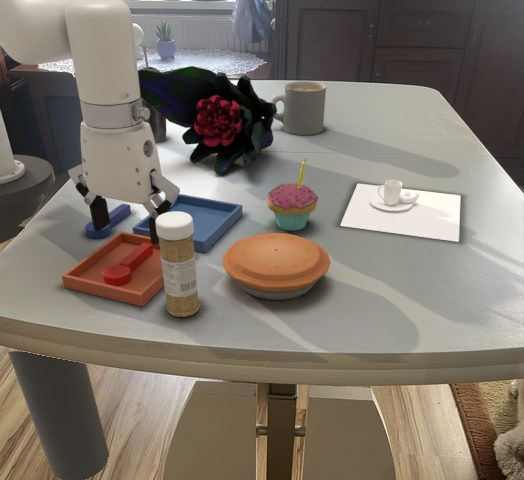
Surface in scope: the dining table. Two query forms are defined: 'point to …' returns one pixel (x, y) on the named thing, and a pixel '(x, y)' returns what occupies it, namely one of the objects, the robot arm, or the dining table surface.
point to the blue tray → (201, 219)
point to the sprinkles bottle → (178, 262)
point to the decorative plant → (211, 113)
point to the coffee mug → (302, 107)
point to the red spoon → (127, 266)
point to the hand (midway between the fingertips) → (130, 233)
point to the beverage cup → (154, 113)
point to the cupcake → (292, 203)
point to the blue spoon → (114, 218)
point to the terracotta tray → (112, 252)
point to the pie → (276, 265)
